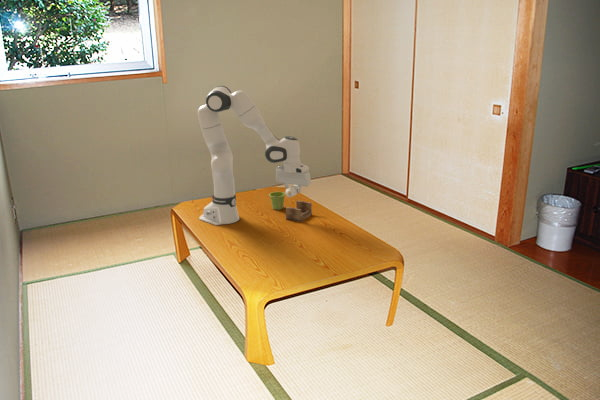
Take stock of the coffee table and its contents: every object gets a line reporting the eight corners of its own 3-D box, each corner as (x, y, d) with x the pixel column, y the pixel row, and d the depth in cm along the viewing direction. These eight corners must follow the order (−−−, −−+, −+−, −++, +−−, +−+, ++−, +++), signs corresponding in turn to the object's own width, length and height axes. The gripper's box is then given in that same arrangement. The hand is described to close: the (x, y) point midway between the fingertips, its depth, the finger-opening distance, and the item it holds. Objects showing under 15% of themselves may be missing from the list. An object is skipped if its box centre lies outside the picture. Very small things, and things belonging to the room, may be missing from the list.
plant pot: (267, 207, 309) (266, 193, 306) (282, 204, 313) (281, 190, 310) (273, 212, 301) (272, 197, 298) (288, 209, 305) (288, 195, 302)
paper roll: (293, 198, 280) (293, 189, 278) (285, 196, 282) (285, 187, 281) (301, 193, 287) (301, 184, 285) (293, 192, 289) (293, 183, 287)
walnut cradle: (286, 219, 290) (285, 207, 287) (297, 212, 300) (297, 200, 298) (300, 222, 285) (300, 210, 283) (311, 214, 296) (311, 202, 294)
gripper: (272, 166, 282) (274, 191, 286) (305, 170, 272) (306, 196, 276) (278, 163, 287) (280, 187, 292) (311, 167, 277) (312, 192, 282)
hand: (293, 191), depth 284 cm, fingers closed on paper roll, 5 cm apart
